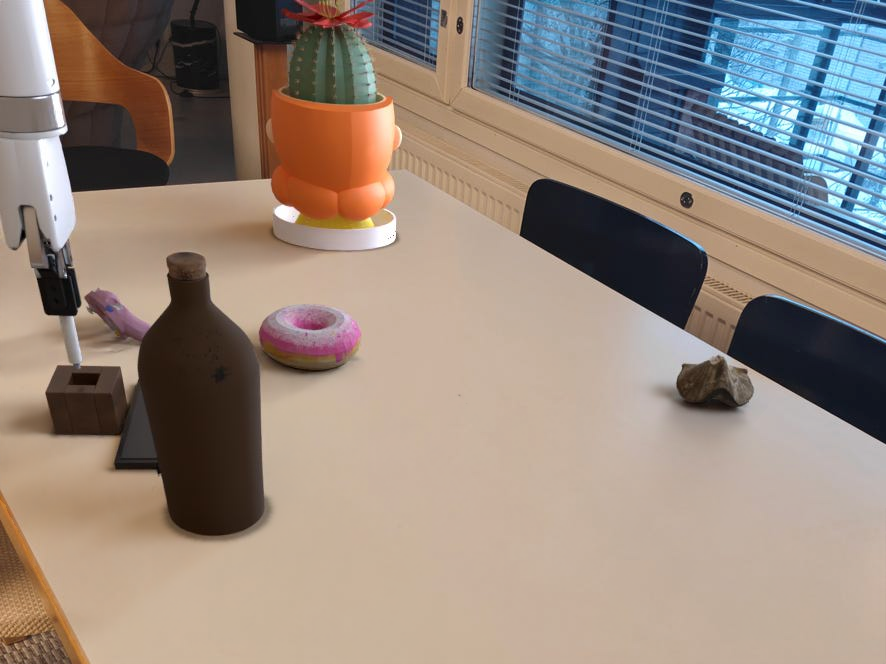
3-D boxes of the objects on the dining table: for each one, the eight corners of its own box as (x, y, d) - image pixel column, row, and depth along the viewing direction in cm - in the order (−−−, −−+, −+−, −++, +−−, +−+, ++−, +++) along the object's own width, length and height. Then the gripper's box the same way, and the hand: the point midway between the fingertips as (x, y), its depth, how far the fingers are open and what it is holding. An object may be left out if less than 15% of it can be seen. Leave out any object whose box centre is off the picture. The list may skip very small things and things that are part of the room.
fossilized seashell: (756, 377, 122) (682, 373, 124) (759, 345, 116) (681, 341, 118) (748, 424, 119) (673, 418, 122) (751, 394, 113) (672, 389, 116)
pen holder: (55, 434, 99) (44, 392, 96) (66, 405, 104) (57, 364, 101) (119, 434, 100) (111, 393, 97) (128, 406, 105) (120, 366, 102)
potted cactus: (271, 216, 162) (257, -21, 139) (393, 221, 166) (399, -9, 143) (273, 257, 146) (256, -2, 123) (407, 261, 151) (416, 11, 128)
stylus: (69, 371, 97) (43, 258, 89) (71, 365, 98) (46, 253, 90) (82, 371, 97) (58, 258, 90) (85, 365, 98) (61, 253, 91)
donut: (291, 326, 126) (290, 291, 123) (377, 346, 124) (378, 311, 121) (242, 361, 117) (238, 324, 113) (334, 384, 114) (333, 347, 111)
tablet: (115, 469, 95) (113, 461, 94) (139, 385, 109) (138, 377, 109) (222, 469, 97) (221, 461, 96) (231, 386, 111) (231, 378, 111)
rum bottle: (291, 501, 93) (275, 254, 77) (229, 552, 85) (198, 291, 69) (206, 473, 96) (174, 228, 79) (139, 520, 88) (89, 261, 72)
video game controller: (103, 333, 123) (70, 291, 117) (128, 312, 124) (98, 270, 118) (136, 359, 118) (103, 317, 112) (162, 338, 118) (132, 295, 113)
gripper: (-3, 91, 87) (41, 282, 99) (-49, 129, 75) (8, 340, 87) (78, 96, 88) (112, 284, 100) (46, 135, 76) (89, 342, 89)
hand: (63, 309), depth 94 cm, fingers closed on stylus, 1 cm apart
